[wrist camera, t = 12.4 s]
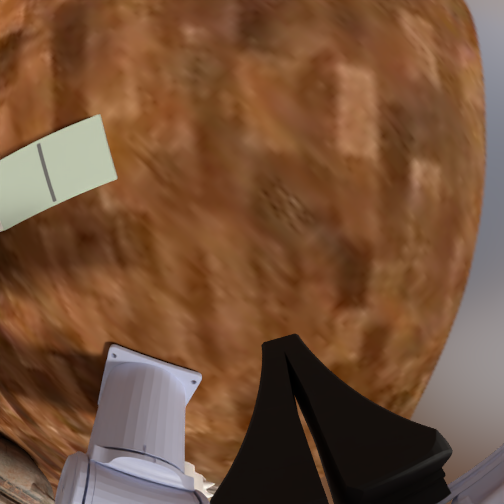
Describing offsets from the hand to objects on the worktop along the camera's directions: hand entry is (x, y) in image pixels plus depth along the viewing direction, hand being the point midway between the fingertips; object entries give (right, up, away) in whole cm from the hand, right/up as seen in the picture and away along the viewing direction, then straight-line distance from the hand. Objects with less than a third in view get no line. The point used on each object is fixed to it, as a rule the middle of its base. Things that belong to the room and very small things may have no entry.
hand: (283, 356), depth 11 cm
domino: (-9, +10, +4) cm, 14 cm away
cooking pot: (-43, -31, +17) cm, 56 cm away
